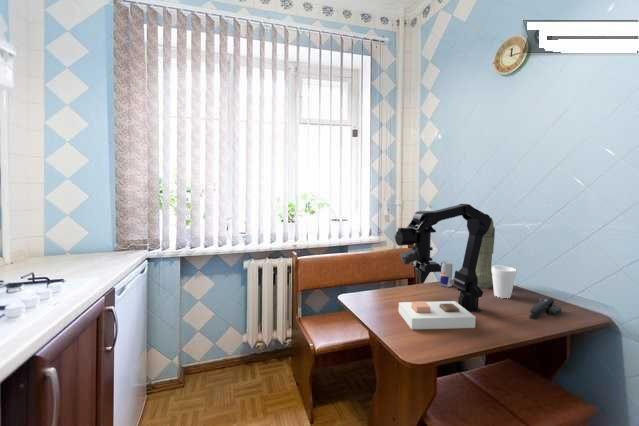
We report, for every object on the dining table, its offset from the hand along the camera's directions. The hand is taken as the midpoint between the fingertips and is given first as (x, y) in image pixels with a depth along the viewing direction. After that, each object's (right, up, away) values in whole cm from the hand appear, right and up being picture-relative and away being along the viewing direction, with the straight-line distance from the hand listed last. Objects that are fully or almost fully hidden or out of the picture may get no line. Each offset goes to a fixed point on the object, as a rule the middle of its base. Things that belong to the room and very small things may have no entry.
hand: (421, 283), depth 112 cm
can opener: (+48, -13, +1) cm, 49 cm away
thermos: (+42, -9, +33) cm, 54 cm away
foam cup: (+44, -11, +19) cm, 49 cm away
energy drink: (+24, -9, +33) cm, 42 cm away
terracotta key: (-2, -11, -4) cm, 12 cm away
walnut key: (+9, -12, -4) cm, 15 cm away
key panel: (+3, -13, -4) cm, 14 cm away
